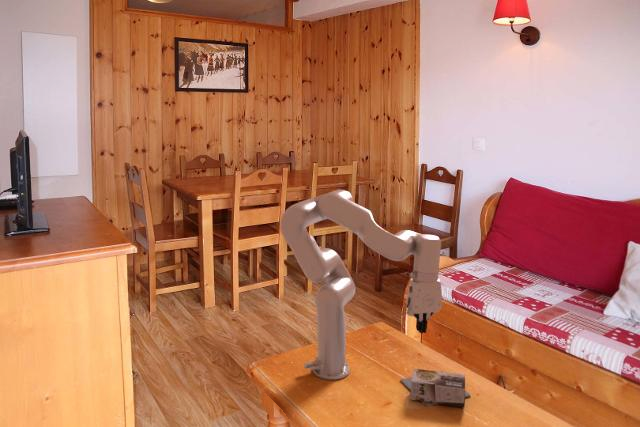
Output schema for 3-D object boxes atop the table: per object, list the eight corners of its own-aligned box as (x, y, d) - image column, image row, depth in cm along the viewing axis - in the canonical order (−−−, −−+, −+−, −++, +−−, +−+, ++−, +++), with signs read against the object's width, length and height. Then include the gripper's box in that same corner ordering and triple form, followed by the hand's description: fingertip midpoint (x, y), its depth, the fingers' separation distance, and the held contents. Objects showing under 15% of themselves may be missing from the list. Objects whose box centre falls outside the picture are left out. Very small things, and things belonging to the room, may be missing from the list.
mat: (425, 406, 160) (425, 404, 160) (400, 380, 175) (400, 379, 175) (470, 396, 165) (470, 395, 165) (442, 372, 180) (442, 371, 180)
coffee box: (410, 400, 162) (464, 408, 158) (410, 381, 161) (465, 388, 157) (413, 386, 171) (464, 393, 166) (413, 367, 170) (465, 374, 165)
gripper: (410, 281, 155) (405, 339, 159) (453, 277, 160) (448, 333, 164) (397, 273, 161) (394, 329, 165) (439, 269, 166) (435, 323, 170)
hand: (421, 331), depth 164 cm, fingers closed
